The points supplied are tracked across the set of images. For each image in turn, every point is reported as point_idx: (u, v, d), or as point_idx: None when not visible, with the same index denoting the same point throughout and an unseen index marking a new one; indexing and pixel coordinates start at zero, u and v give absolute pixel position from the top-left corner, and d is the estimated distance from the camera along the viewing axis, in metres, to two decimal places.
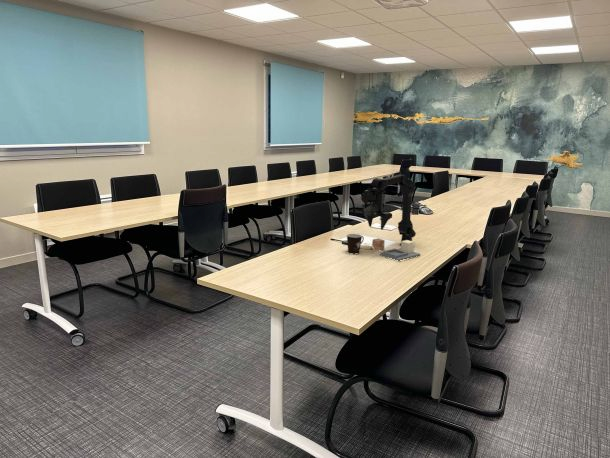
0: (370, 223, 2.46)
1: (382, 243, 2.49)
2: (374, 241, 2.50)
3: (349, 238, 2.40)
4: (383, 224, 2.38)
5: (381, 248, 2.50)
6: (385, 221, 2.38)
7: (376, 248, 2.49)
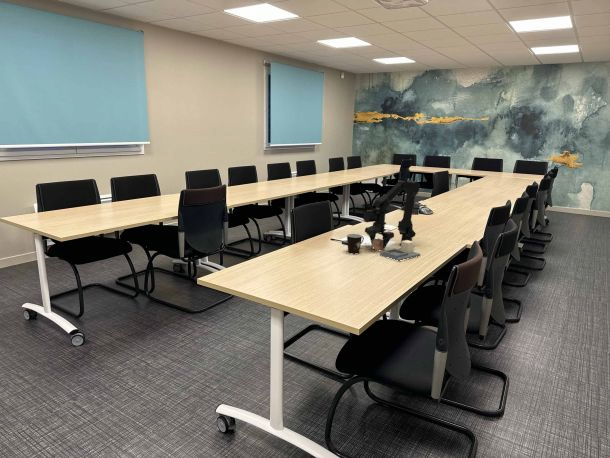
0: None
1: (382, 243, 2.49)
2: (374, 241, 2.50)
3: (349, 238, 2.40)
4: (385, 243, 2.46)
5: (381, 248, 2.50)
6: (387, 240, 2.46)
7: (376, 248, 2.49)
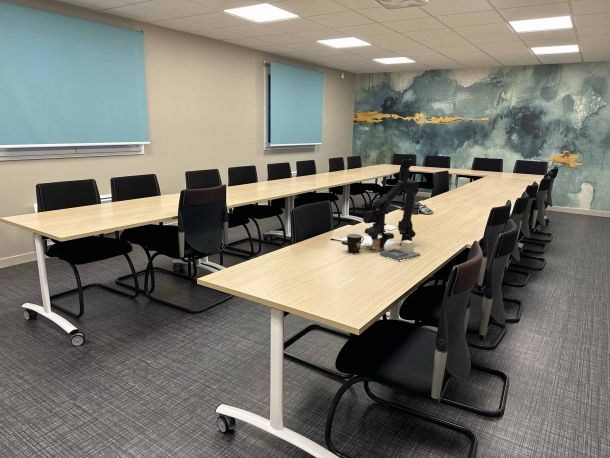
0: None
1: None
2: (374, 241, 2.50)
3: (349, 238, 2.40)
4: (383, 243, 2.48)
5: None
6: (385, 240, 2.48)
7: (376, 248, 2.49)
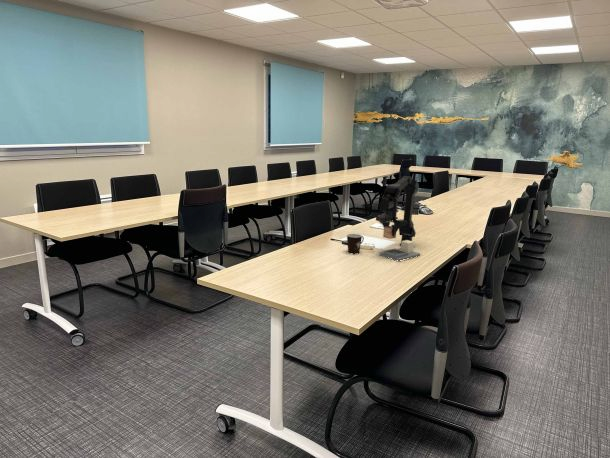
0: None
1: None
2: (385, 228, 2.38)
3: (349, 238, 2.40)
4: (395, 231, 2.36)
5: (393, 236, 2.38)
6: (397, 228, 2.36)
7: (387, 236, 2.38)
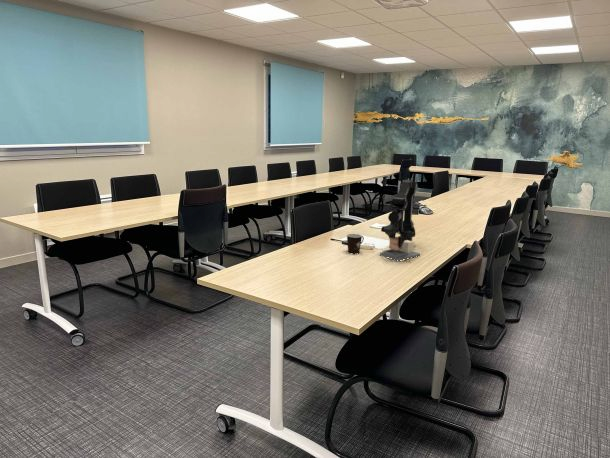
0: None
1: None
2: (392, 240, 2.35)
3: (349, 238, 2.40)
4: (401, 242, 2.33)
5: None
6: (403, 239, 2.33)
7: (394, 247, 2.34)
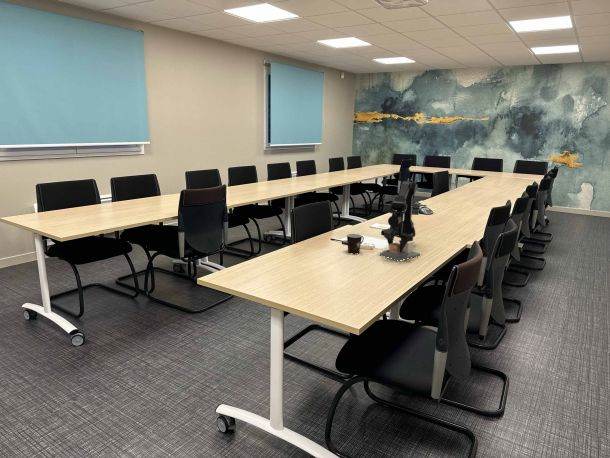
0: None
1: None
2: (391, 245, 2.35)
3: (349, 238, 2.40)
4: (402, 246, 2.32)
5: (399, 253, 2.35)
6: (404, 243, 2.32)
7: (393, 253, 2.35)
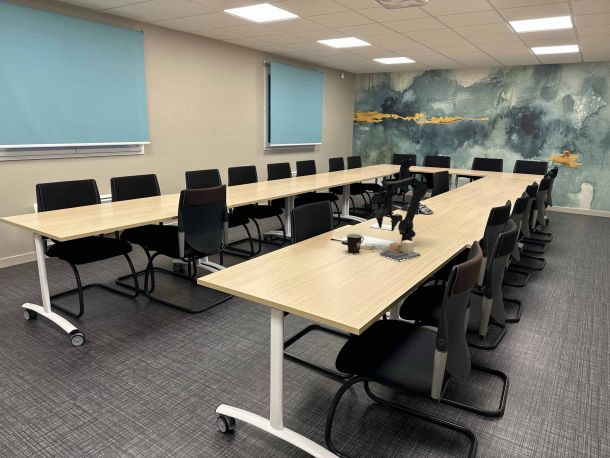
0: (380, 225, 2.54)
1: (400, 248, 2.35)
2: (391, 245, 2.35)
3: (349, 238, 2.40)
4: (394, 226, 2.46)
5: (399, 253, 2.35)
6: (395, 223, 2.46)
7: (393, 253, 2.35)
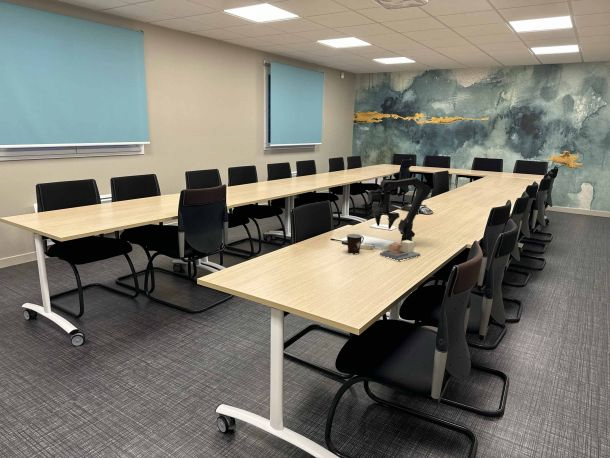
0: (378, 223, 2.58)
1: (400, 248, 2.35)
2: (391, 245, 2.35)
3: (349, 238, 2.40)
4: (391, 223, 2.50)
5: (399, 253, 2.35)
6: (392, 221, 2.50)
7: (393, 253, 2.35)
